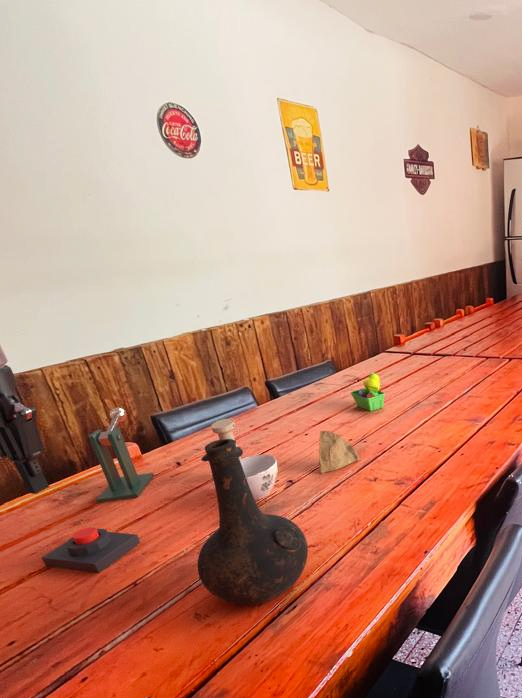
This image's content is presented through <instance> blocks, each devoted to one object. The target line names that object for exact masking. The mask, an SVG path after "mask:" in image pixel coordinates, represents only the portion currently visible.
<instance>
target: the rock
mask: <svg viewBox="0 0 522 698" xmlns="http://www.w3.org/2000/svg"><path fill="white" fill-rule="evenodd" d="M318 444H319V445H318V446H319V447H318V448H319V452H318V453H319V454H318V455H319V456H318V463H319V464H318V465H319V472H320V474H321V475H323V474H325V473H328V472H333V471H336V470H339V469H341V468H344V467H346V466H349V465H351V464H352V463H355V462H358V461H360V460H361V458H360V456H359V454H358V452H357V451H356V449H355V448H354V446H353V445H352V444H350V443H349V442H348V441H347V440H346V439H344V438H343V437H342V436H341V435H339V434H338V433H335V432H332V431H330V430H320V432H319V443H318Z"/></svg>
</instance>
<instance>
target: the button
mask: <svg viewBox="0 0 522 698" xmlns="http://www.w3.org/2000/svg"><path fill="white" fill-rule="evenodd" d="M97 529H98V528H96V527H93V526H90V527H89V526H88V527H85V528H82V529H79V530H77V531H75V532H74V533H73V534H72V536H71V538H73V540H74V542H75V544H76V545H83V544H87V543H90V542H92V541H94V540H96V539H97V538H99V534H98V532H97Z"/></svg>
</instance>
